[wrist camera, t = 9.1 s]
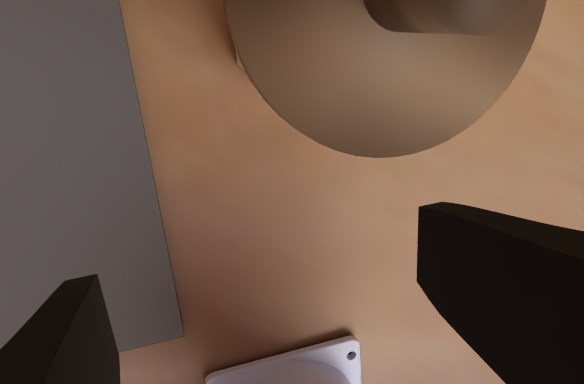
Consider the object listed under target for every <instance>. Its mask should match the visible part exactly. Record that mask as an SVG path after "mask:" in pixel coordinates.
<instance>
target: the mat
mask: <svg viewBox="0 0 584 384" xmlns="http://www.w3.org/2000/svg"><path fill="white" fill-rule="evenodd" d="M93 274H98V278H99V282H100V285H101V289H102V293H103V297H104V300H105V304H106V308H107V312H108V316H109V319H110V323H111V327H112V331H113V334H114V338H115V342H116V346H117V349H118V353H119V352H123V351H127V350H131V349H135V348H139V347H143V346H147V345H151V344H155V343H159V342H163V341H167V340H171V339H175V338H180V337H184V331H183V325H182V320H181V315H180V310H179V305H178V300H177V295H176V290H175V285H174V280H173V275H172V269H171V264H170V259H169V254H168V249H167V244H166V239H165V234H164V229H163V224H162V218H161V213H160V208H159V203H158V198H157V193H156V188H155V183H154V178H153V173H152V168H151V162H150V157H149V152H148V147H147V142H146V137H145V132H144V127H143V122H142V117H141V111H140V106H139V101H138V96H137V91H136V86H135V81H134V76H133V71H132V66H131V60H130V55H129V50H128V45H127V40H126V35H125V30H124V25H123V20H122V15H121V10H120V4H119V0H0V349H1V348H2V347H3V346H4V345H5V344H6V343H7V342H8V341H9V340H10V339H11V338H12V337H13V336H14V335H15V334H16V333H17V331H18V330H19V329H20V328H21V327H22V326H23V325H24V324H25V323H26V322H27V321H28V320H29V319H30V317H31V316H32V315H33V314H34V313H35V312H36V311H37V310H38V309H39V308H40V306H41V305H42V304H43V303H44V302H45V301H46V300H47V299H48V298H49V296H50V295H51V294H52V293H53V292H54V291H55V290H56V289H57V288H58V287H59V286H60V285H61V284H62V283H63V282H64V281H65V280H69V279H74V278H79V277H84V276H88V275H93Z"/></svg>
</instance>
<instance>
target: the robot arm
mask: <svg viewBox="0 0 584 384" xmlns="http://www.w3.org/2000/svg"><path fill="white" fill-rule="evenodd" d="M417 282H418V284H419V285H420V287H421V288H422V290H423V291H424V293H425V294H426V296H427V297H428V299H429V300H430V301H431V303H432V304H433V305H434V307H435V308H436V310H437V311H438V312H439V314H440V315H441V316H442V317H443V318H444V319H445V320H446V321H447V322H448V323H449V325H450V326H451V327H452V328H453V329H454V330H455V331H456V332H457V333H458V334H459V335H460V336H461V337H462V338H463V339H464V340H465V341H466V343H467V344H468V345H469V346H470V347H471V348H472V349H473V350H474V351H475V352H476V353H477V354H478V355H479V356H480V357H481V358H482V359H483V360H484V361H485V362H486V363H487V364H488V365H489V366H490V368H491V369H492V370H493V371H494V372H495V373H496V374H497V375H498V376H499V377H500V378H501V379H502V380H503V381H504V382H505V383H506V384H584V231H579V230H574V229H569V228H564V227H559V226H554V225H549V224H545V223H540V222H536V221H531V220H527V219H523V218H519V217H514V216H510V215H506V214H502V213H498V212H493V211H489V210H485V209H481V208H476V207H471V206H466V205H461V204H455V203H447V202H439V203H434V204H429V205H425V206H420V207H419V215H418V252H417ZM350 352H352V353H351V354H350V355H348V353H350ZM0 384H120V364H119V353H118V349H117V346H116V342H115V338H114V334H113V331H112V327H111V323H110V319H109V316H108V312H107V308H106V304H105V300H104V297H103V293H102V289H101V285H100V282H99V278H98V274H93V275H88V276H84V277H79V278H74V279H69V280H65V281H64V282H63V283H62V284H61V285H60V286H59V287H58V288H57V289H56V290H55V291H54V292H53V293H52V294H51V295H50V296H49V298H48V299H47V300H46V301H45V302H44V303H43V304H42V305H41V306H40V308H39V309H38V310H37V311H36V312H35V313H34V314H33V315H32V316H31V317H30V319H29V320H28V321H27V322H26V323H25V324H24V325H23V326H22V327H21V328H20V329H19V330H18V331H17V333H16V334H15V335H14V336H13V337H12V338H11V339H10V340H9V341H8V342H7V343H6V344H5V345H4V346H3V347H2V348H1V349H0ZM205 384H361V366H360V344H359V341H358V340H357V339H356V338H355V337H354V336H346V337H342V338H338V339H335V340H331V341H327V342H323V343H320V344H316V345H312V346H309V347H305V348H301V349H297V350H294V351H290V352H286V353H282V354H279V355H275V356H271V357H268V358H264V359H260V360H256V361H253V362H249V363H245V364H242V365H238V366H234V367H230V368H227V369H223V370H219V371H215V372H212V373H210V374H209V375H208V376H207V377H206V378H205Z"/></svg>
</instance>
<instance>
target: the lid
mask: <svg viewBox="0 0 584 384" xmlns="http://www.w3.org/2000/svg"><path fill="white" fill-rule="evenodd" d="M546 1H547V0H223V2H224V10H225V15H226V19H227V23H228V27H229V31H230V35H231V39H232V41H233V44H234V47H235V49H236V52H237V54H238V57H239V60H240V62H241V64H242V65H243V67H244V69H245V71H246V73H247V75H248V77H249V78H250V80H251V82H252V83H253V85H254V86H255V88H256V89H257V90H258V92H259V93H260V95H261V96H262V97H263V99H264V100H265V101H266V102H267V103H268V104H269V105H270V106H271V107H272V109H273V110H274V111H275V112H276V113H277V114H278V115H279V116H280V117H282V118H283V119H284V120H285V121H286V122H288V123H289V124H290V125H291V126H293V127H294V128H295V129H297V130H298V131H300V132H301V133H303V134H304V135H306V136H308V137H309V138H311V139H313V140H314V141H316V142H318V143H319V144H322V145H324V146H327V147H329V148H331V149H334V150H336V151H339V152H343V153H347V154H351V155H355V156H363V157H372V158H383V157H398V156H403V155H409V154H414V153H417V152H420V151H423V150H426V149H430V148H432V147H434V146H436V145H439V144H441V143H443V142H445V141H447V140H449V139H451V138H452V137H454V136H456V135H457V134H459V133H460V132H462V131H464V130H465V129H466V128H468V127H469V126H470V125H471V124H473V123H474V122H475V121H477V120H478V119H479V118H480V117H481V116H482V115H483V114H484V113H485V112H486V111H487V110H488V109H489V108H490V107H491V106H492V105H493V104H494V103H495V102H496V101H497V100H498V99H499V97H500V96H501V95H502V94H503V93H504V91H505V90H506V89H507V88H508V86H509V85H510V83H511V82H512V80H513V79H514V77H515V76H516V74H517V73H518V71H519V70H520V68H521V66H522V64H523V62H524V60H525V58H526V57H527V55H528V53H529V51H530V49H531V46H532V44H533V41H534V39H535V37H536V34H537V32H538V29H539V26H540V23H541V19H542V16H543V13H544V9H545V6H546Z"/></svg>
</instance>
